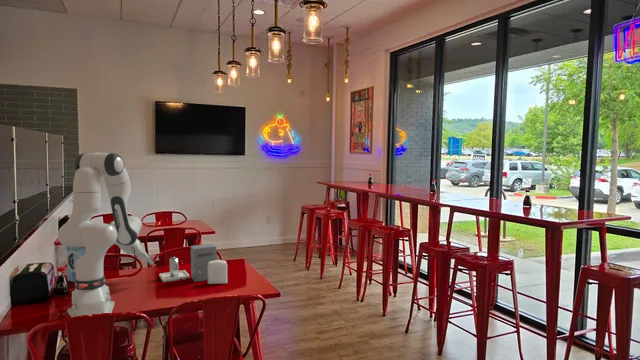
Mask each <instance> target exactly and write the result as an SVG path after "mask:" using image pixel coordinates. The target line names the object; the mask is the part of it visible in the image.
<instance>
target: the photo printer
mask: <svg viewBox="0 0 640 360" xmlns="http://www.w3.org/2000/svg"><path fill="white" fill-rule="evenodd" d="M207 284H208V285H214V284H215V285H216V284H217V285H218V284H228V264H227V260H222V259H217V260H214V261H210V262H209V263H208V280H207Z"/></svg>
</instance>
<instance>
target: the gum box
mask: <svg viewBox="0 0 640 360" xmlns="http://www.w3.org/2000/svg"><path fill="white" fill-rule="evenodd" d="M65 248H66V274H67V276H66V277H67V281H69V282H73V283H75V279H76V269H75V264H76V261H77V260H78V259H79V258H80V257H82V256H84V255H85V253H86V247H70V246H66V245H65Z"/></svg>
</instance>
